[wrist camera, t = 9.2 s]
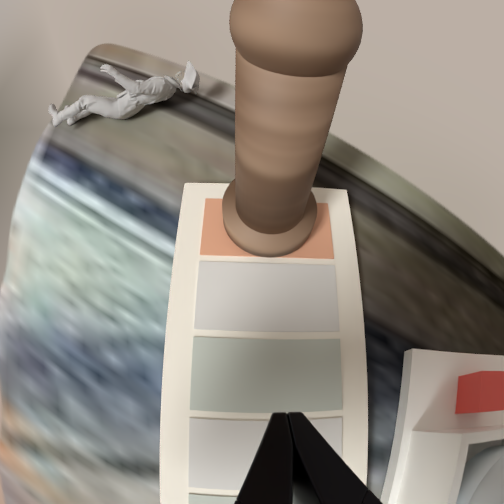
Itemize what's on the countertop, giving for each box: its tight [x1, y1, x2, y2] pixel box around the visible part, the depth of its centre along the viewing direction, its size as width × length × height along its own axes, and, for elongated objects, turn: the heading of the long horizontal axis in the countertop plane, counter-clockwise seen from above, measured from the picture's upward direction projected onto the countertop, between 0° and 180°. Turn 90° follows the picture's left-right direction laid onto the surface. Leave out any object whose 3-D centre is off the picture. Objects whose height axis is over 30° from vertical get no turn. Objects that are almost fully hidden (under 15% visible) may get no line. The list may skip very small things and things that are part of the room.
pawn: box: [222, 0, 363, 258], centre depth 12 cm, size 5×5×13 cm
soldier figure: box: [49, 61, 200, 127], centre depth 22 cm, size 8×5×12 cm
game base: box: [380, 348, 504, 504], centre depth 10 cm, size 14×9×6 cm, turn 169°
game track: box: [160, 183, 368, 504], centre depth 15 cm, size 23×10×1 cm, turn 179°
